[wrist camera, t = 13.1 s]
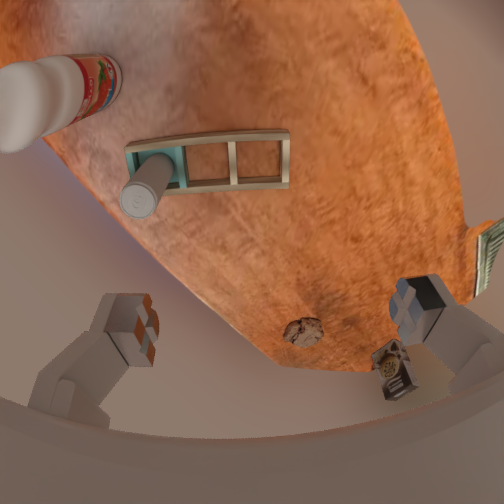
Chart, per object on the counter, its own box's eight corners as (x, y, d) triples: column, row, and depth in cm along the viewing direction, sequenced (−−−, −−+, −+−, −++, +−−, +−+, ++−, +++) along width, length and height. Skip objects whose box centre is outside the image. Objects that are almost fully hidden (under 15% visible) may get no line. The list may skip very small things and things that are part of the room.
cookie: (303, 346, 71) (305, 355, 69) (274, 332, 67) (275, 342, 64) (332, 326, 67) (335, 336, 64) (305, 310, 62) (307, 320, 60)
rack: (129, 142, 38) (124, 147, 36) (287, 129, 39) (290, 133, 37) (139, 192, 43) (135, 199, 41) (286, 182, 44) (288, 188, 42)
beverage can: (178, 156, 40) (159, 189, 30) (171, 184, 43) (152, 224, 33) (148, 149, 39) (120, 179, 29) (142, 177, 41) (116, 214, 32)
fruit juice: (92, 43, 27) (-60, 60, 5) (135, 72, 32) (-6, 107, 9) (61, 93, 31) (-80, 160, 9) (101, 122, 35) (-30, 216, 13)
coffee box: (393, 338, 73) (411, 384, 60) (403, 342, 75) (420, 386, 62) (370, 355, 77) (384, 400, 64) (381, 358, 79) (395, 401, 67)
